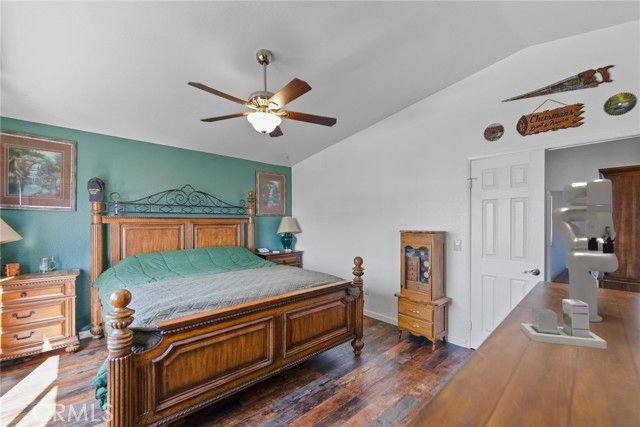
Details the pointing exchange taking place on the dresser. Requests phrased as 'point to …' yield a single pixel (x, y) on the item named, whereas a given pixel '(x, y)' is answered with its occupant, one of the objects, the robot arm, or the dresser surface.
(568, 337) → the pallet
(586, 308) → the syrup box
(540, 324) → the metal block
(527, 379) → the dresser surface
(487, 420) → the dresser surface
